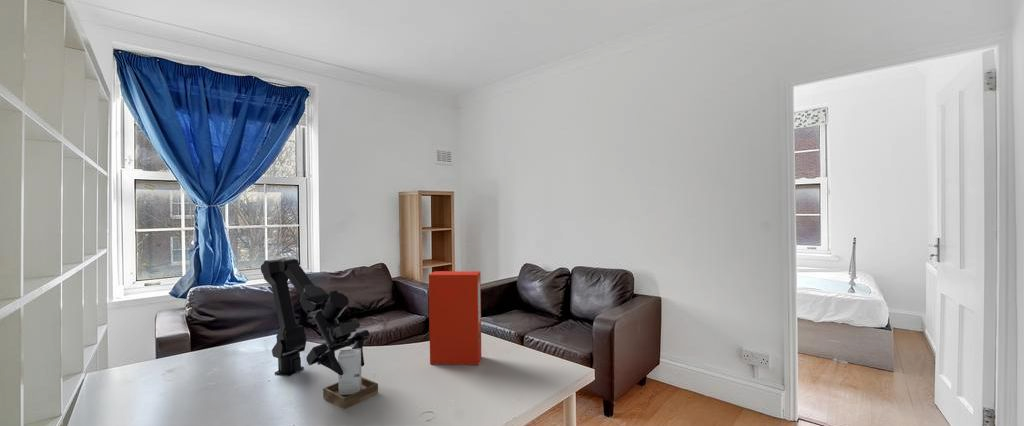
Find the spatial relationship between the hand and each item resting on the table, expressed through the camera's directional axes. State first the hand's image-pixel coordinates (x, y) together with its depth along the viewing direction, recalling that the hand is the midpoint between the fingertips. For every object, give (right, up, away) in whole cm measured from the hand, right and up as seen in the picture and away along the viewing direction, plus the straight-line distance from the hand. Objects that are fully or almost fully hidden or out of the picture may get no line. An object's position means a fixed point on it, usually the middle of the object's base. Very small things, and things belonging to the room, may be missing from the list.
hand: (353, 370), depth 117 cm
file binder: (+27, -7, +26) cm, 38 cm away
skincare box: (-1, -7, +1) cm, 7 cm away
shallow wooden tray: (-1, -8, +1) cm, 8 cm away
